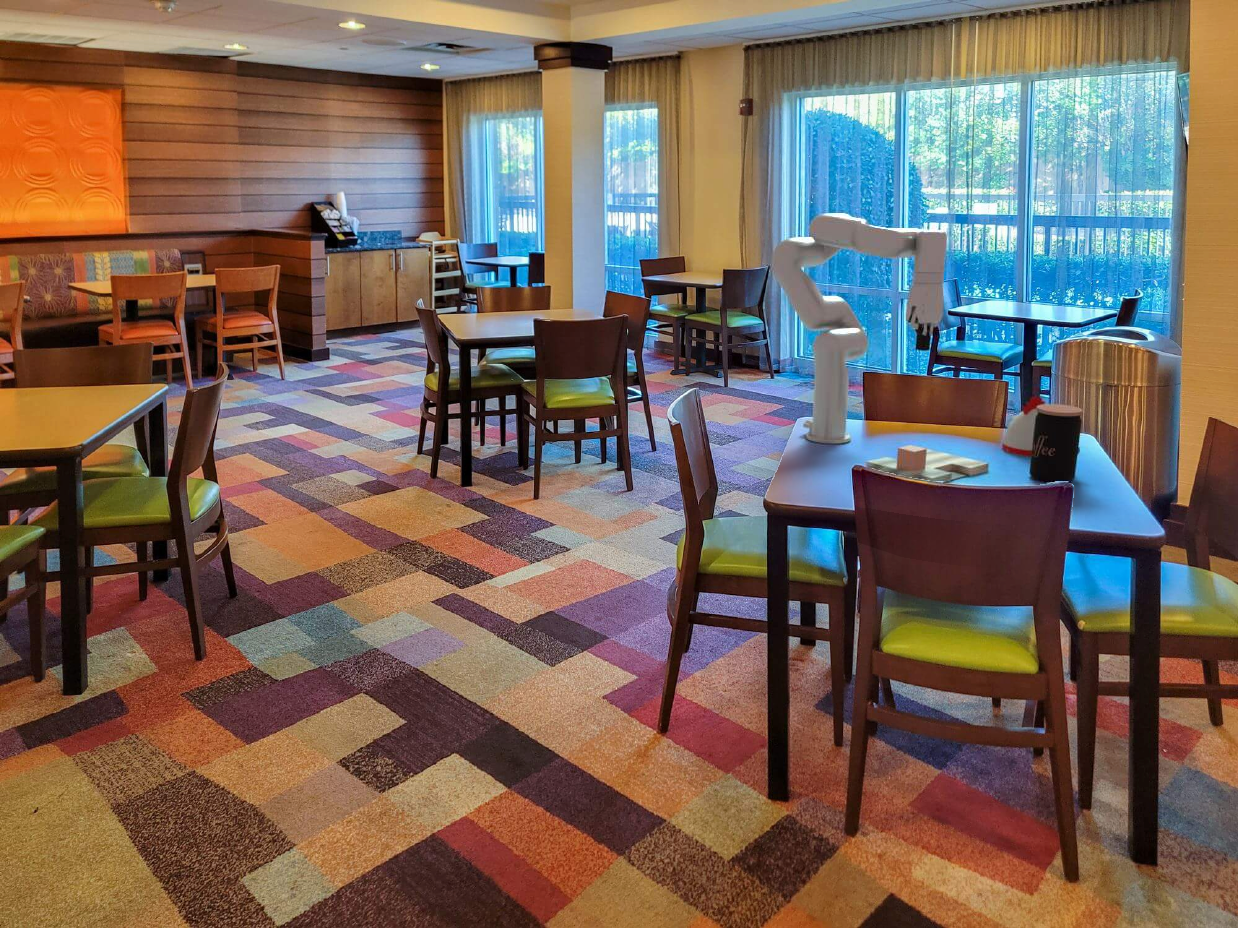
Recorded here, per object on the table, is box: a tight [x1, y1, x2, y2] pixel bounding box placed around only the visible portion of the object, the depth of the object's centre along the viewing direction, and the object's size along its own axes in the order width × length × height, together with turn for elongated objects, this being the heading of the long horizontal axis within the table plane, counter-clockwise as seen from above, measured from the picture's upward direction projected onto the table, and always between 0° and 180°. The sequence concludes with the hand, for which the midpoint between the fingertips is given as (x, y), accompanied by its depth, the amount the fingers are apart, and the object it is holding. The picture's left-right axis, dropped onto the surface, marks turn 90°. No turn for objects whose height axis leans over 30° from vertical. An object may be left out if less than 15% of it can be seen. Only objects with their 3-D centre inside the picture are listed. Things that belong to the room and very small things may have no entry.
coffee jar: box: [1028, 403, 1084, 484], centre depth 261 cm, size 11×11×18 cm
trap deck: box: [865, 448, 990, 482], centre depth 270 cm, size 20×24×2 cm
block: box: [896, 444, 927, 471], centre depth 264 cm, size 5×5×5 cm
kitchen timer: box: [1001, 396, 1046, 457], centre depth 291 cm, size 14×14×15 cm
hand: (922, 349), depth 276 cm, fingers closed
